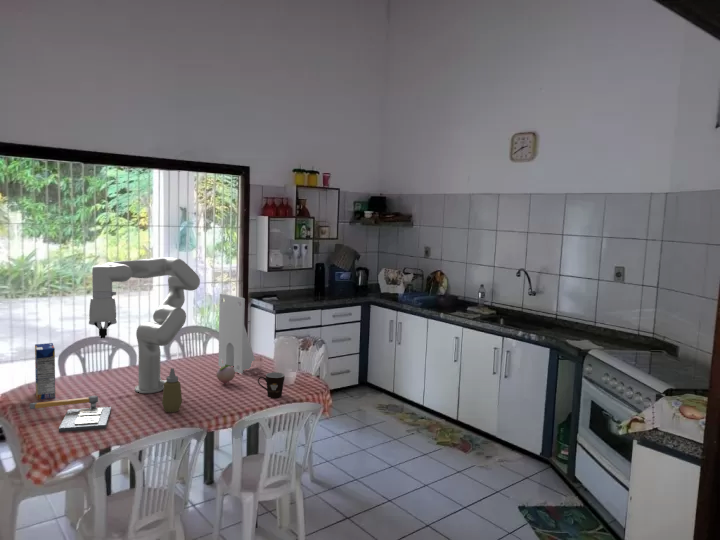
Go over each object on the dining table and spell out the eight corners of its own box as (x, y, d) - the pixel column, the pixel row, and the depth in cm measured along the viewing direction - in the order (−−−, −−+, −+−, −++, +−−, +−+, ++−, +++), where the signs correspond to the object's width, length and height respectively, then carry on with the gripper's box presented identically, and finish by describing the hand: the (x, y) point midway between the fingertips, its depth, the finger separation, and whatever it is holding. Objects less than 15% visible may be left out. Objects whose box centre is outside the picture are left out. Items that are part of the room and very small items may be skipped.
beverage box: (37, 400, 241) (36, 350, 239) (35, 392, 251) (34, 344, 248) (55, 397, 245) (54, 348, 243) (53, 390, 254) (52, 342, 252)
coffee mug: (287, 395, 262) (288, 374, 261) (277, 400, 254) (278, 378, 253) (266, 390, 267) (267, 370, 266) (256, 395, 259) (256, 374, 258)
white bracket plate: (263, 369, 301) (265, 296, 297) (241, 374, 290) (243, 298, 286) (239, 362, 314) (241, 291, 310) (218, 366, 303) (219, 293, 299)
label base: (111, 407, 236) (111, 400, 236) (105, 428, 215) (105, 420, 214) (69, 410, 231) (69, 402, 231) (59, 432, 210) (58, 423, 209)
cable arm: (98, 402, 232) (98, 397, 232) (29, 410, 220) (29, 405, 220) (97, 399, 235) (97, 395, 235) (29, 407, 224) (29, 402, 223)
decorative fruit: (230, 387, 269) (230, 367, 268) (214, 386, 271) (214, 365, 270) (237, 381, 278) (238, 362, 277) (222, 380, 280) (222, 360, 279)
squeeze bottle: (164, 406, 240) (164, 365, 238) (184, 407, 241) (184, 366, 239) (159, 413, 232) (159, 371, 230) (179, 413, 233) (180, 371, 231)
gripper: (122, 293, 242) (122, 335, 244) (84, 293, 237) (84, 336, 239) (121, 296, 234) (121, 339, 237) (81, 296, 230) (82, 340, 232)
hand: (103, 337), depth 238 cm, fingers closed
